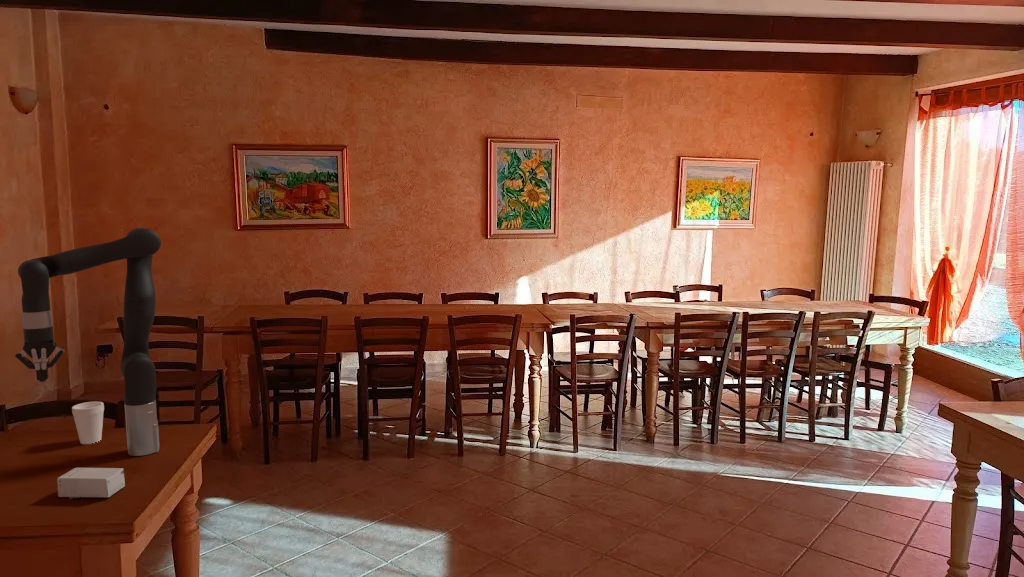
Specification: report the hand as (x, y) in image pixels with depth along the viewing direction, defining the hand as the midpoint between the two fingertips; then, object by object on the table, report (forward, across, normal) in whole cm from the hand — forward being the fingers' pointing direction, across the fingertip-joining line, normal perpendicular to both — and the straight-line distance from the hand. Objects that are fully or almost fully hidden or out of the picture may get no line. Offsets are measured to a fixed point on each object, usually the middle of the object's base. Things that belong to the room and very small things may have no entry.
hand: (42, 381), depth 209 cm
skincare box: (+26, -8, +20) cm, 34 cm away
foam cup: (+29, -7, -27) cm, 40 cm away
